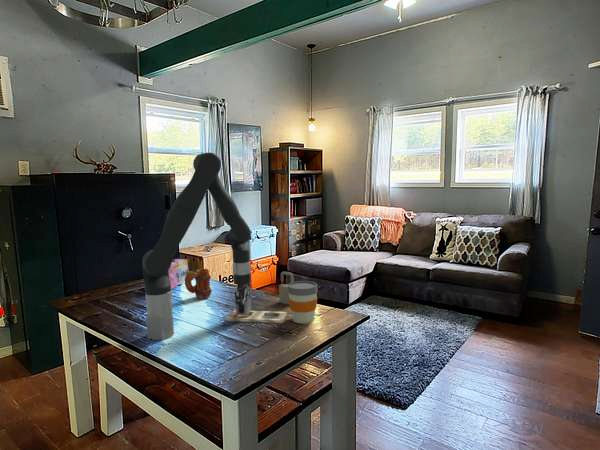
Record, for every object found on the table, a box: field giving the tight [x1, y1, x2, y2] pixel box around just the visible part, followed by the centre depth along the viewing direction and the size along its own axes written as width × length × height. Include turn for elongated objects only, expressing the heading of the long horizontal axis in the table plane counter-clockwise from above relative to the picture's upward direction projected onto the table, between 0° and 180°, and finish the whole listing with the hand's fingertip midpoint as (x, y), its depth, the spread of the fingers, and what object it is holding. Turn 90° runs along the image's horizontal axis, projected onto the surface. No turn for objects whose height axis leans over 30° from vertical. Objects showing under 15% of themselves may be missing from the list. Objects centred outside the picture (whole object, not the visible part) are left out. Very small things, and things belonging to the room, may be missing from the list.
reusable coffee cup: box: [287, 280, 318, 324], centre depth 158 cm, size 13×13×15 cm
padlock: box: [278, 271, 295, 305], centre depth 181 cm, size 4×8×15 cm, turn 53°
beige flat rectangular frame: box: [225, 309, 288, 324], centre depth 162 cm, size 24×10×1 cm, turn 80°
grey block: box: [235, 297, 252, 316], centre depth 163 cm, size 5×5×6 cm
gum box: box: [169, 257, 190, 289], centre depth 217 cm, size 24×8×14 cm, turn 168°
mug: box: [184, 268, 213, 299], centre depth 190 cm, size 15×8×15 cm, turn 141°
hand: (243, 310), depth 163 cm, fingers closed on grey block, 5 cm apart
